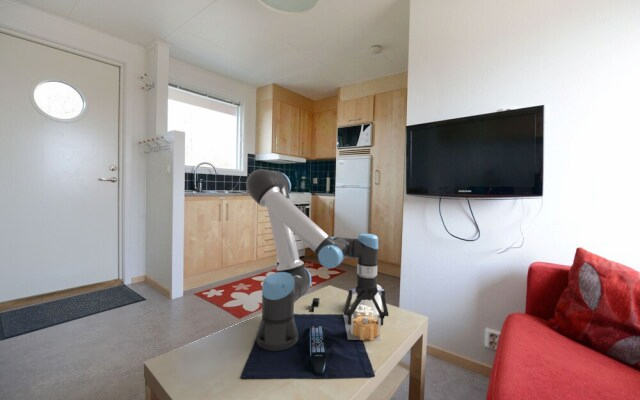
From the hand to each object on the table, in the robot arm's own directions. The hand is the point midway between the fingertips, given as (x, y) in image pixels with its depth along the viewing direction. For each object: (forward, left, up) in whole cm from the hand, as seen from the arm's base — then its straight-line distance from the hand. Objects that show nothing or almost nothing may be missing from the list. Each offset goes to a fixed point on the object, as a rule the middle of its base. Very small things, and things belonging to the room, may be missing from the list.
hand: (364, 332), depth 103 cm
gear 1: (0, +10, 0) cm, 11 cm away
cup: (+5, +21, -2) cm, 22 cm away
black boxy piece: (-19, +24, -3) cm, 31 cm away
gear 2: (0, 0, 0) cm, 0 cm away
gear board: (-1, +5, -2) cm, 6 cm away
